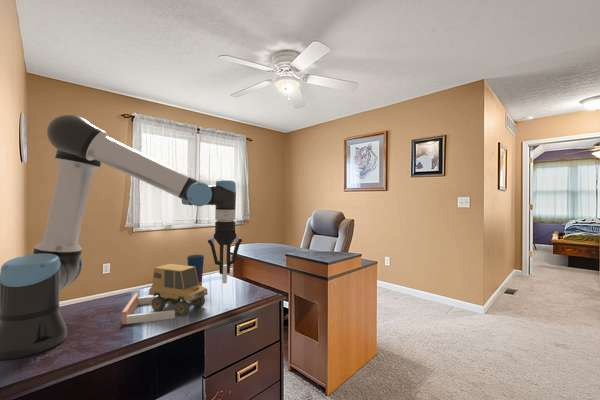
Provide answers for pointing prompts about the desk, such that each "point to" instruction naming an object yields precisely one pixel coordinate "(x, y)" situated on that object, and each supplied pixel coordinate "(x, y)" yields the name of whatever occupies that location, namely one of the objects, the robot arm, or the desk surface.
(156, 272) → the toy car
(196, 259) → the cup
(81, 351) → the desk surface
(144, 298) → the bay
